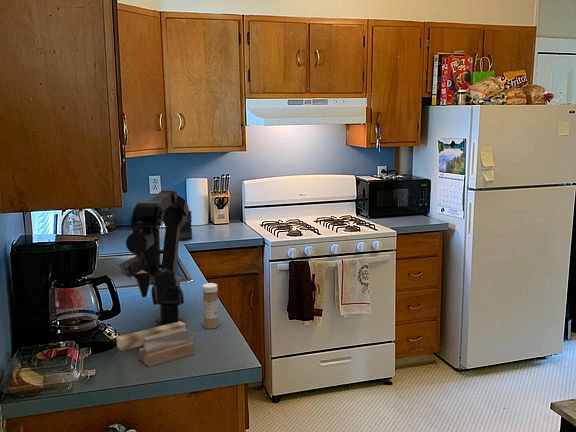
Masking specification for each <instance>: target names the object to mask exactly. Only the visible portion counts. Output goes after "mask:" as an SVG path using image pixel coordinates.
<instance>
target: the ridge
mask: <svg viewBox="0 0 576 432" xmlns="http://www.w3.org/2000/svg"><path fill="white" fill-rule="evenodd" d="M143 340H144V345H143V347H140V348H138V353H139V354H138V356H139V360H140V361H141V362H142V363H144V364H145V365H146V366H148V367H149V368H151V367H154V366H158V365H160V364H161V365H162V364H164V363H167V362H171V361H174V360H178V359H182V358H185V357H188V356H192V355H195V354H194V353H195V351H194V343H193V342H192V341H190V340H189V330H188V329H187V328H181V329H177V330H173V331H169V332H165V333H161V334H157V335H153V336H149V337H145V338H143Z"/></svg>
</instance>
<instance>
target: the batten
mask: <svg viewBox="0 0 576 432" xmlns="http://www.w3.org/2000/svg"><path fill="white" fill-rule="evenodd" d="M181 328H186V323H184V321H183V322H181V321H179V322H175V323H171V324H167V325H160V326H155V327H150V328H146V329H144V330H139V331H135V332H130V333H128V334H127V333H126V334H122V335H118V336H116V347H117V349H118V350H119V351H121V352H122V351H127V350H130V349H134V348H139V347H142V346H144V340H143V338H145V337H149V336H153V335H157V334H161V333H165V332H169V331H173V330H177V329H181ZM186 329H187V328H186Z"/></svg>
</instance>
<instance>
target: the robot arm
mask: <svg viewBox="0 0 576 432" xmlns="http://www.w3.org/2000/svg"><path fill="white" fill-rule="evenodd" d="M189 211H190V207H189V205H188V203H187V200H186V199H184V198H183V197H181V196H180V195H178V192H177V191H175V190H161V191H159V193H158V194H156V196H155V197H153V198H151V199H150V200H148V201H141V202H140V201H139V202H137V203H136V204H135V206H134V207H133V211H132V215H131V219H130V224H129V229H131V230H132V233H131V234H129V235H128V236H127V238H126V240H125V246H126V248H127V249H126V250H128V251H129V252H130V253H132V254H134V255H135V256H133V257H131V258H128V259H127V260H125V261H123V262H121V263H120V264H119V269H120V272H121V273H122V275H123V276H124V277H125V276H126V278H132V277H133V278H134V279H135V281H136V284H137V285H138V288H139V292H140V294H141V297H142V298H146V297H147V295H148V292H149V289H150V285H151V286H152V287H151V298H152V304H153V305H155V306H156V305H159V318H156V319H155V322H156V323H159V324H160V325H161V326H163V325H167V324H171V323H175V322H179V321H181V322H183V323H184V320H183V319H182V318H180V317H179V306H181V305H183V304H184V303H185V293H184V291H183V289H182V288H181V282H180V280H179V278H178V276H177V265H178V264H177V263H178V254H179V247H180V245H179V244H180V241H179V236H180V229H181V228H182V227H183V226H184V224H185V223H186V219H187V216H188V214H189ZM162 224H164V226H165V229H164V230H165V231H164V238H163V239H164V240H163V249H161V240H160V238H161V237H160V235H161V234H160V233H161V232H160V229H161V226H162ZM161 255H162V256H161ZM161 257H162V258H161Z"/></svg>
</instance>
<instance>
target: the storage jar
mask: <svg viewBox="0 0 576 432" xmlns="http://www.w3.org/2000/svg"><path fill="white" fill-rule="evenodd" d="M192 218H193V217H192V211H191V210H189V214H188V216H187V219H186V223H185V224H184V226H183V227H182V228H181V229H180V236H179V242H188V241H192V240H193V230H192Z"/></svg>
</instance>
